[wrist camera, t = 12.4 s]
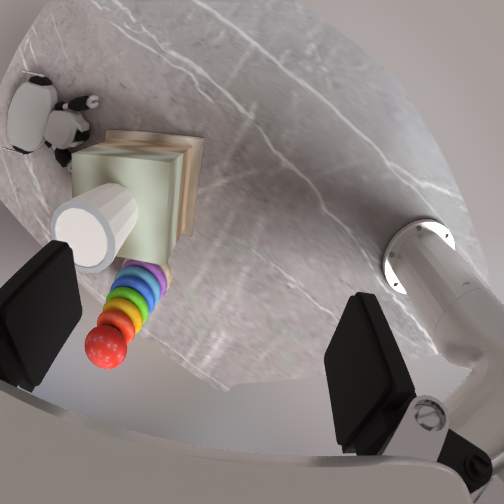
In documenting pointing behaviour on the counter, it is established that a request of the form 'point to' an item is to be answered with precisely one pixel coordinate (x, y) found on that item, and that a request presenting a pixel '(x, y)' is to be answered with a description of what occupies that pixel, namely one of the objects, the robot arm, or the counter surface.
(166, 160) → the patterned box
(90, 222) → the shot glass
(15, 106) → the robot toy
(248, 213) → the counter surface
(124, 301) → the stacking toy
